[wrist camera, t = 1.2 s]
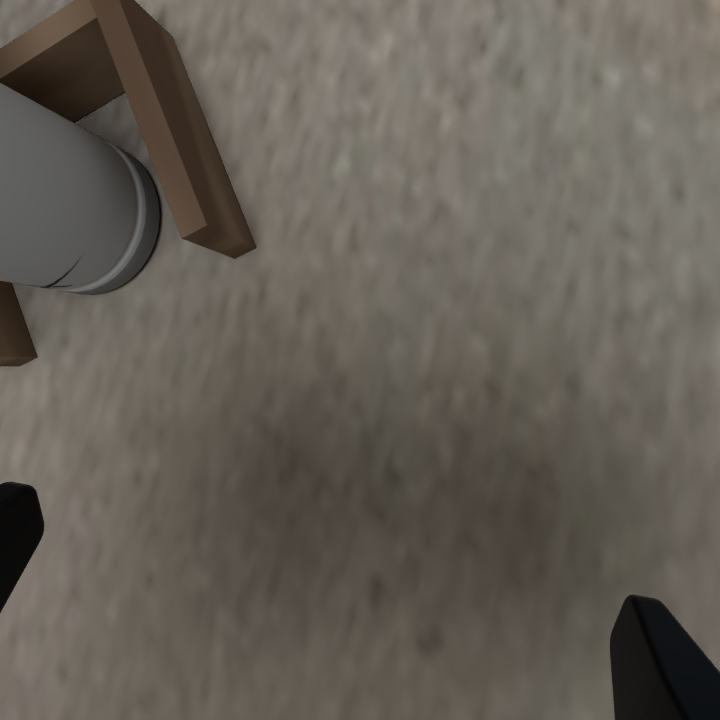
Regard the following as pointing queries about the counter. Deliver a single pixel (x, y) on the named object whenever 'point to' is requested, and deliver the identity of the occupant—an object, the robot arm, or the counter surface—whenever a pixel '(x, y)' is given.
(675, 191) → the counter surface
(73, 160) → the travel mug
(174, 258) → the counter surface
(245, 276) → the counter surface
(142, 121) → the walnut caddy
